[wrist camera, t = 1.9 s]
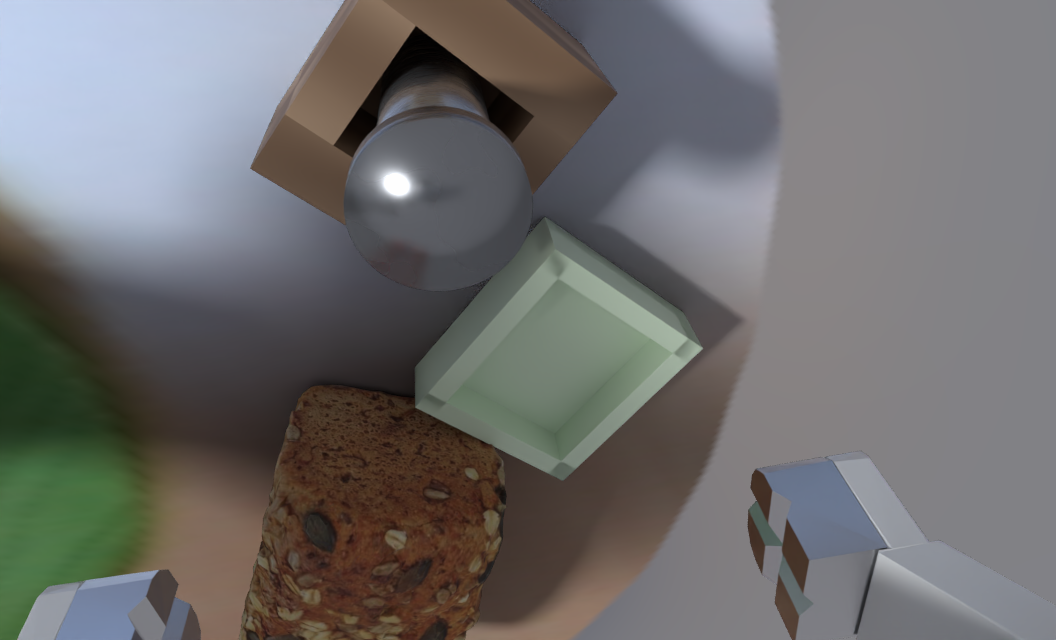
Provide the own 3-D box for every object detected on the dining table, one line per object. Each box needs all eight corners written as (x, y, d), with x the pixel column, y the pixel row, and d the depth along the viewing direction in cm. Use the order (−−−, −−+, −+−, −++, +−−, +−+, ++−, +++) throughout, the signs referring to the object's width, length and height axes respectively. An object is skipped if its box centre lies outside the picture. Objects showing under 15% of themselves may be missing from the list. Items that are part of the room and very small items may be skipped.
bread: (294, 367, 36) (260, 533, 28) (506, 405, 39) (532, 565, 31) (242, 608, 45) (205, 785, 37) (417, 623, 48) (418, 790, 40)
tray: (553, 440, 41) (563, 480, 38) (414, 367, 37) (415, 407, 34) (683, 312, 37) (703, 348, 35) (544, 216, 33) (555, 249, 31)
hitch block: (446, 216, 33) (453, 289, 28) (276, 107, 29) (249, 168, 24) (582, 45, 29) (617, 93, 24) (409, -102, 26) (409, -80, 21)
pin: (445, 168, 30) (459, 319, 21) (340, 96, 28) (306, 230, 19) (520, 71, 29) (570, 191, 19) (414, -13, 26) (415, 77, 17)
